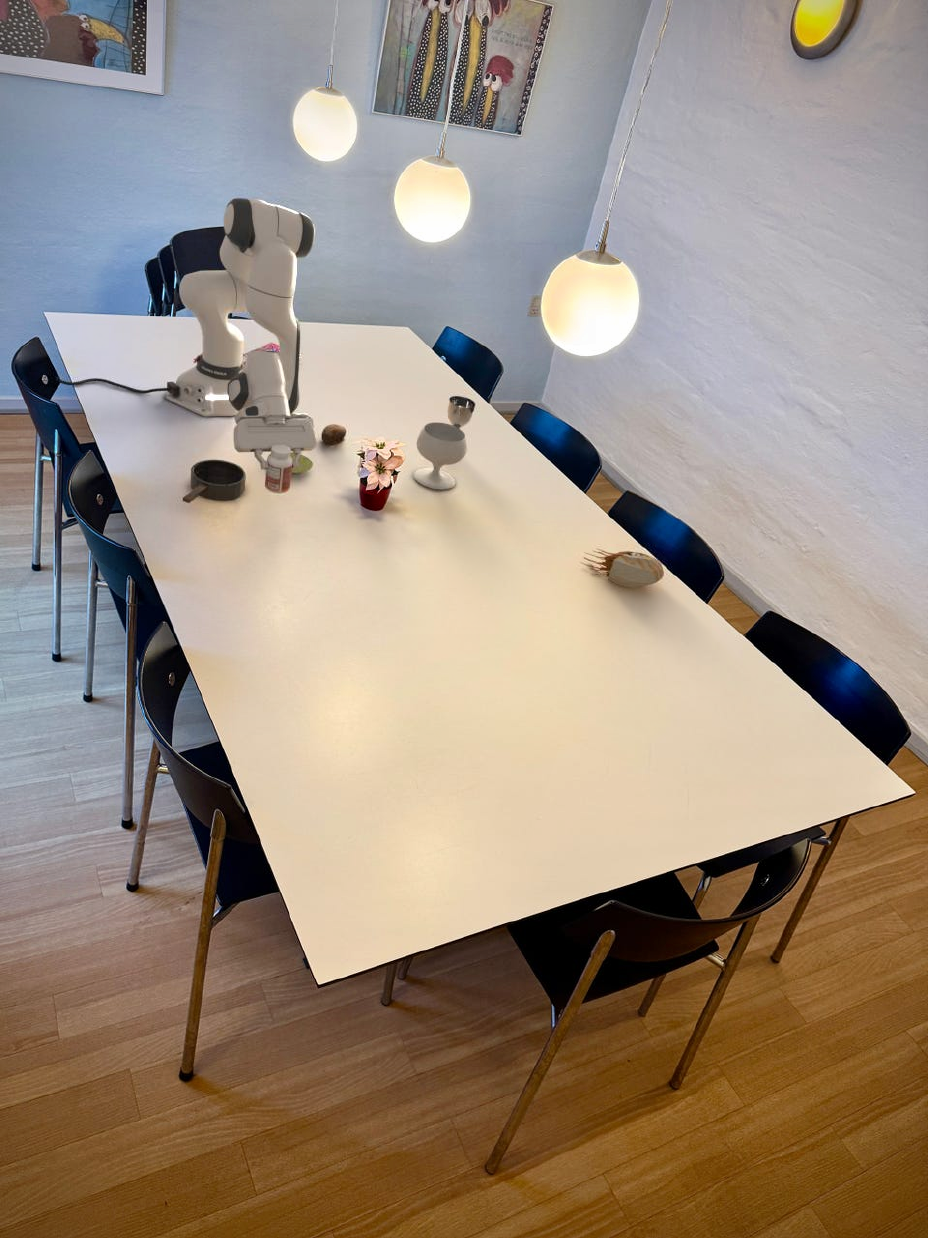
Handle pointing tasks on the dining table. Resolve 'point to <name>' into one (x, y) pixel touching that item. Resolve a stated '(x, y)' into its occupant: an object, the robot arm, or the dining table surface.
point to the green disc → (302, 463)
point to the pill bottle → (279, 469)
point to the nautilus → (630, 568)
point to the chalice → (439, 453)
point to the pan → (219, 479)
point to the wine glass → (460, 410)
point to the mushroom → (333, 434)
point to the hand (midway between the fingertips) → (279, 468)
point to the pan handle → (195, 493)
